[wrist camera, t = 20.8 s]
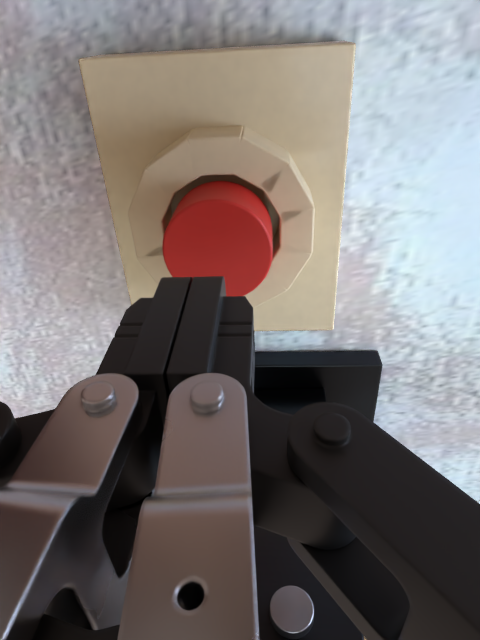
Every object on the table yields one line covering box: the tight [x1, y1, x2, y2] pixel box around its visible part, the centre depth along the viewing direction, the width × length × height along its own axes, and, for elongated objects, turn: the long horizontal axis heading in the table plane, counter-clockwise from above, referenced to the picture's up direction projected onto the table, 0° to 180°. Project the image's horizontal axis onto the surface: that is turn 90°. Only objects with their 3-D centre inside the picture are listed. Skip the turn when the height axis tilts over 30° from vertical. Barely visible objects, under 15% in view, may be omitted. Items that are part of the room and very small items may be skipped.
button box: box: [79, 41, 356, 331], centre depth 17 cm, size 11×9×4 cm
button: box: [162, 181, 273, 296], centre depth 15 cm, size 4×4×2 cm
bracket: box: [253, 351, 382, 640], centre depth 20 cm, size 10×8×14 cm
